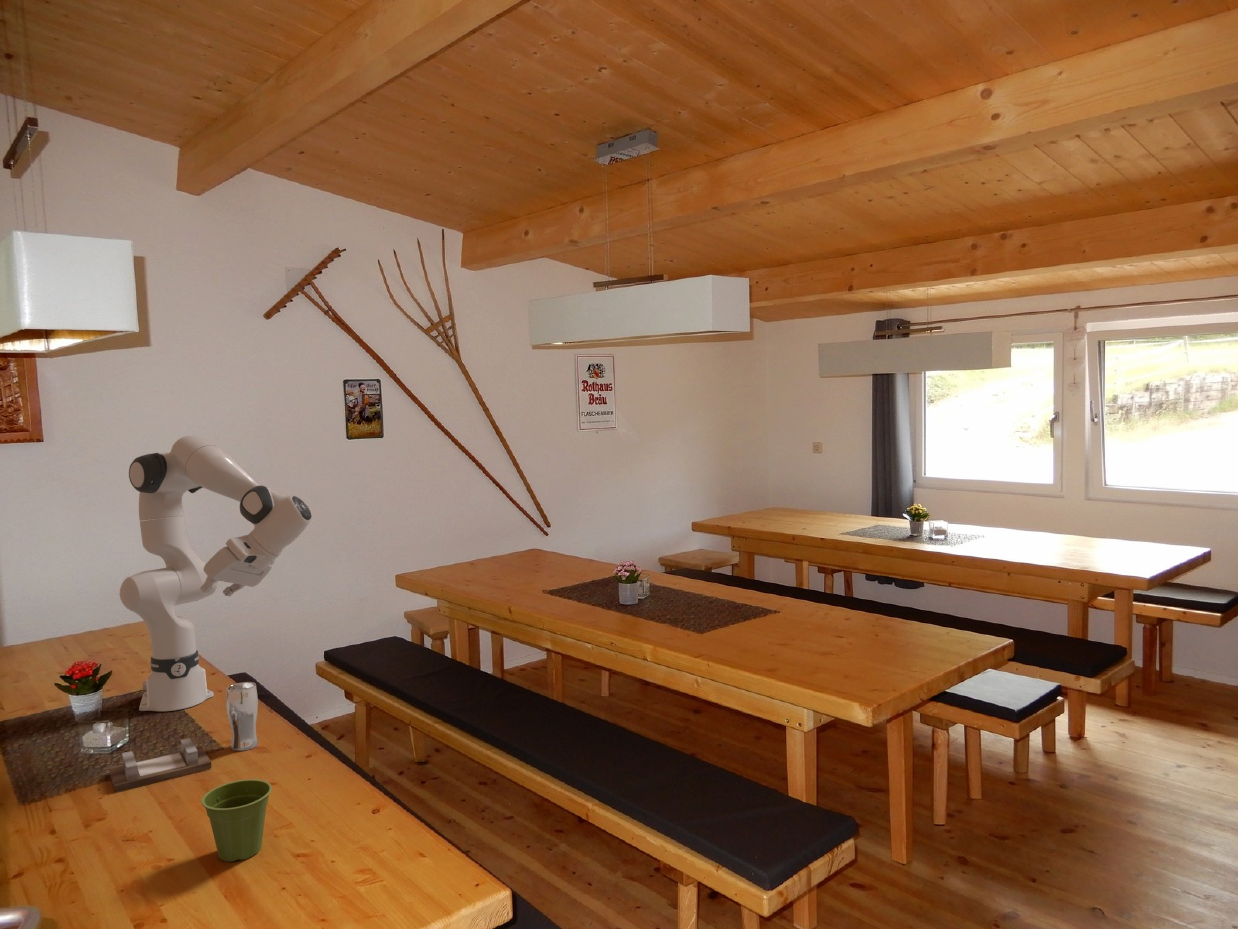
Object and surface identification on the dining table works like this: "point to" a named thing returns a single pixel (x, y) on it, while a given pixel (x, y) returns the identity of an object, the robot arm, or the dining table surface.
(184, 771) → the rail board
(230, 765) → the dining table surface
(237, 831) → the plant pot
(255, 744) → the beer glass
